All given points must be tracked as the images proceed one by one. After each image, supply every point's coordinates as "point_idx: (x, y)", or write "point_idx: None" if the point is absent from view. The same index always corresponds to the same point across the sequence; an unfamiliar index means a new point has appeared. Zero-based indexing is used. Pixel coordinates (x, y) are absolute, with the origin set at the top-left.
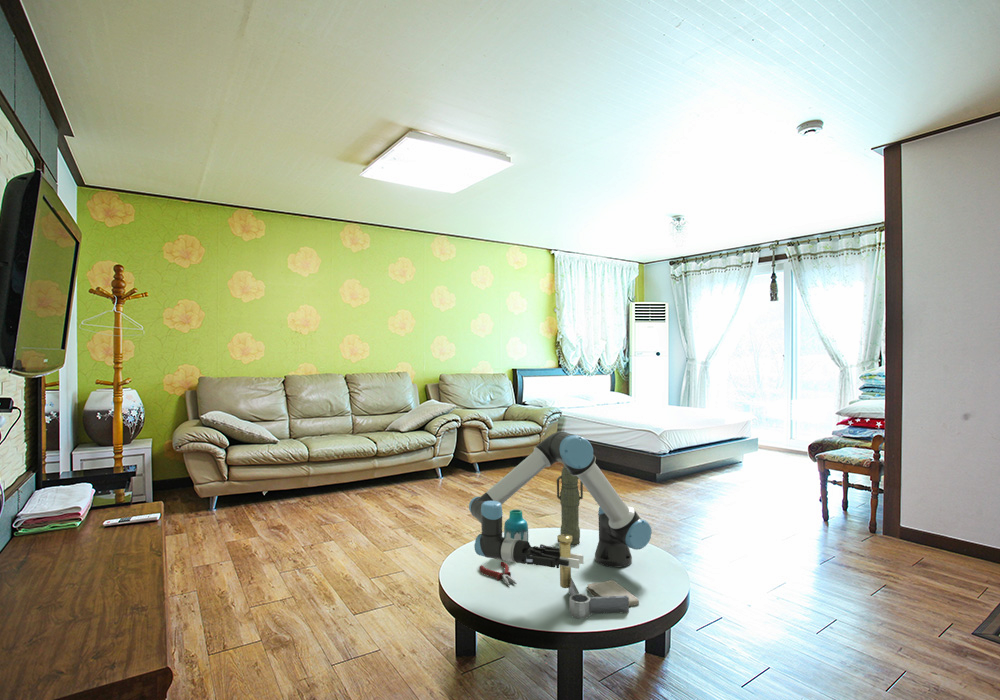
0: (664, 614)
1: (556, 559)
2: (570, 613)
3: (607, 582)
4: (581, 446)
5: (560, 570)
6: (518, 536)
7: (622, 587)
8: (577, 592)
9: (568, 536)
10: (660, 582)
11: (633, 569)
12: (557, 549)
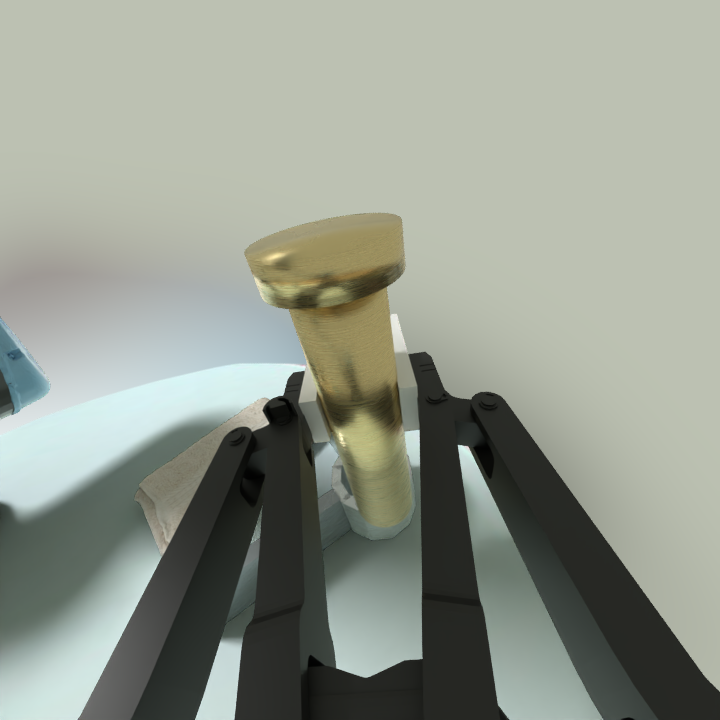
0: (299, 364)
1: (451, 401)
2: (409, 520)
3: (161, 486)
4: None
5: (399, 463)
6: None
7: (200, 440)
8: (326, 499)
9: (306, 230)
10: (145, 407)
11: (37, 481)
12: (231, 486)
